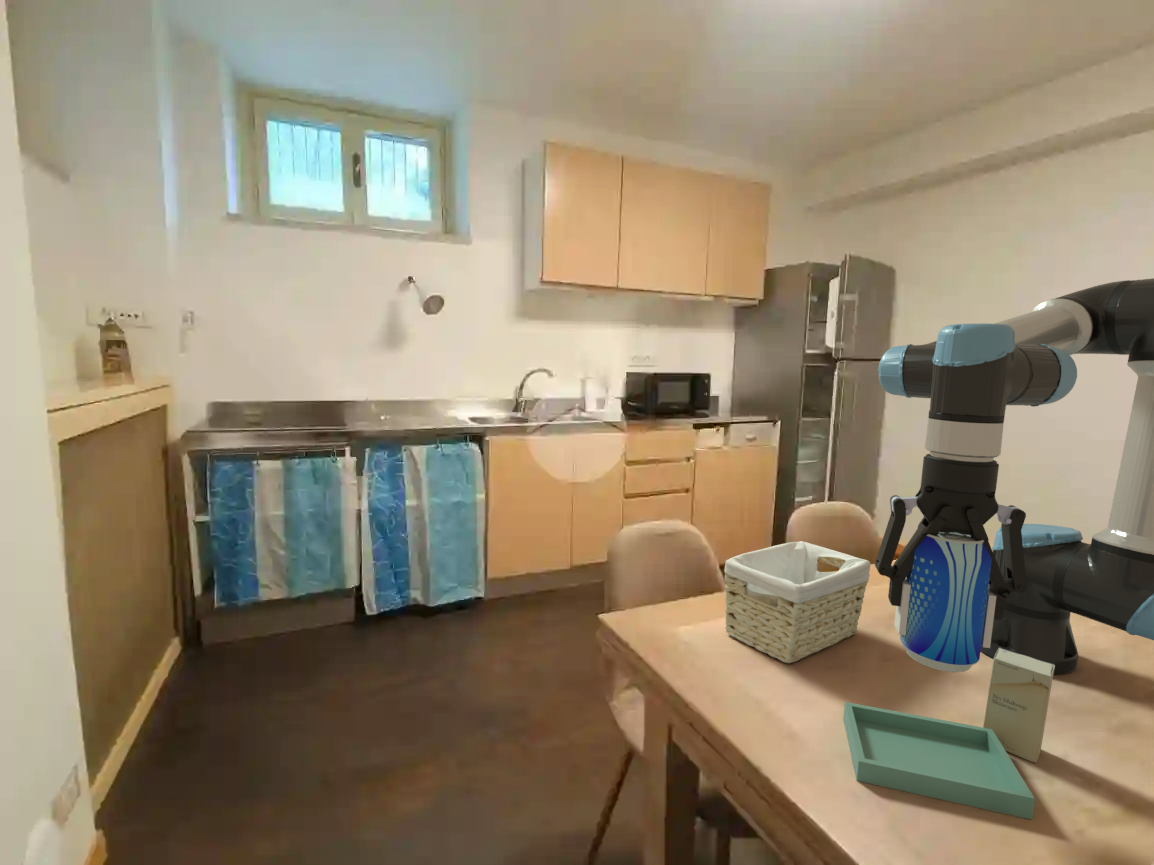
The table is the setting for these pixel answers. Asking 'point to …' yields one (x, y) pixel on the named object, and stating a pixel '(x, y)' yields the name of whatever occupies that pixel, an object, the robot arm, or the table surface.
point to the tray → (935, 759)
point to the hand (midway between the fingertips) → (940, 636)
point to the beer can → (947, 601)
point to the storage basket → (793, 598)
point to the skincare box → (1019, 702)
